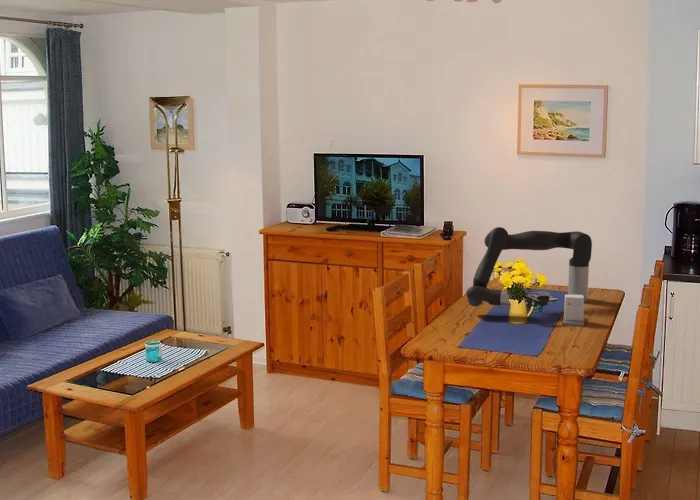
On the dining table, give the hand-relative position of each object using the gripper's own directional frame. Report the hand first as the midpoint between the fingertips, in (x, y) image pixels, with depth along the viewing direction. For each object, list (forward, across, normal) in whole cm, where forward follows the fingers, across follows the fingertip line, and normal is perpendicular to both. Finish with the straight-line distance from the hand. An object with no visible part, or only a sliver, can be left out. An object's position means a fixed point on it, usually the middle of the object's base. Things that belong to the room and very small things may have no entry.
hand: (548, 300), depth 381 cm
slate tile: (+11, 0, +9) cm, 14 cm away
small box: (+11, 0, +8) cm, 14 cm away
